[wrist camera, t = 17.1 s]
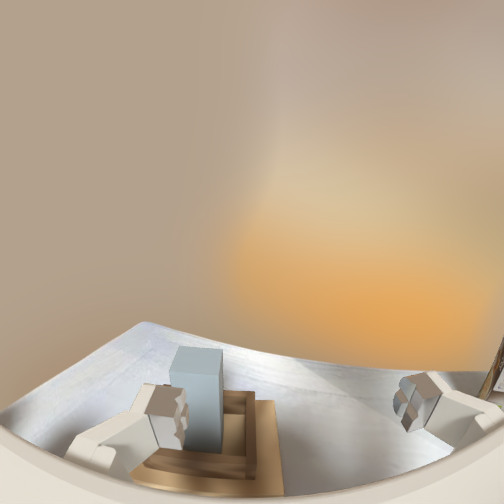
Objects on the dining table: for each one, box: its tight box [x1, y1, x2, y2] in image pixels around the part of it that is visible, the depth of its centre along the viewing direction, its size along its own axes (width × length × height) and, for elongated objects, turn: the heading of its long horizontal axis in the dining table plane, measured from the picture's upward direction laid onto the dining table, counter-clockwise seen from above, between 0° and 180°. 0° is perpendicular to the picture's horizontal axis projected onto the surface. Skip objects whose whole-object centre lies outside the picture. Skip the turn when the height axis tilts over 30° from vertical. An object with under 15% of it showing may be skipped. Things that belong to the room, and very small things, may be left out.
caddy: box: [129, 384, 284, 498], centre depth 30 cm, size 20×18×6 cm
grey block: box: [169, 346, 224, 454], centre depth 29 cm, size 5×5×14 cm
